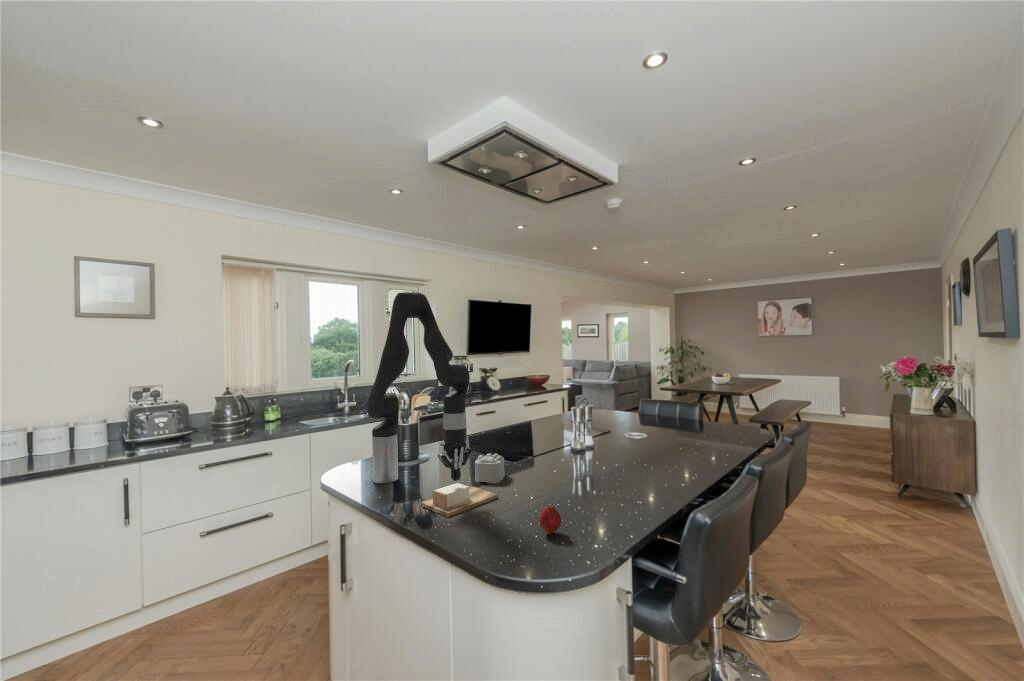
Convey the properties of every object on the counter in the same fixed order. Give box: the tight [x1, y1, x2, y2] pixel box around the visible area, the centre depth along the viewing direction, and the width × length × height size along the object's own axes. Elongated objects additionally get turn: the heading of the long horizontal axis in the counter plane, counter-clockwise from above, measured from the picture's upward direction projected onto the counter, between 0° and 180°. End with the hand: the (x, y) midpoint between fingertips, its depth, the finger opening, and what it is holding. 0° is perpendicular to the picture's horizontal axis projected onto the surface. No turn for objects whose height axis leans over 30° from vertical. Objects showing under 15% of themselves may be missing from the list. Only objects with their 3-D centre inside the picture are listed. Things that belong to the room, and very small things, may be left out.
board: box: [419, 485, 499, 518], centre depth 141 cm, size 14×21×1 cm, turn 137°
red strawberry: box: [538, 503, 562, 535], centre depth 116 cm, size 6×6×8 cm
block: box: [432, 482, 470, 508], centre depth 138 cm, size 6×4×10 cm
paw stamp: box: [474, 452, 505, 484], centre depth 166 cm, size 10×13×9 cm
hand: (455, 479), depth 140 cm, fingers closed
